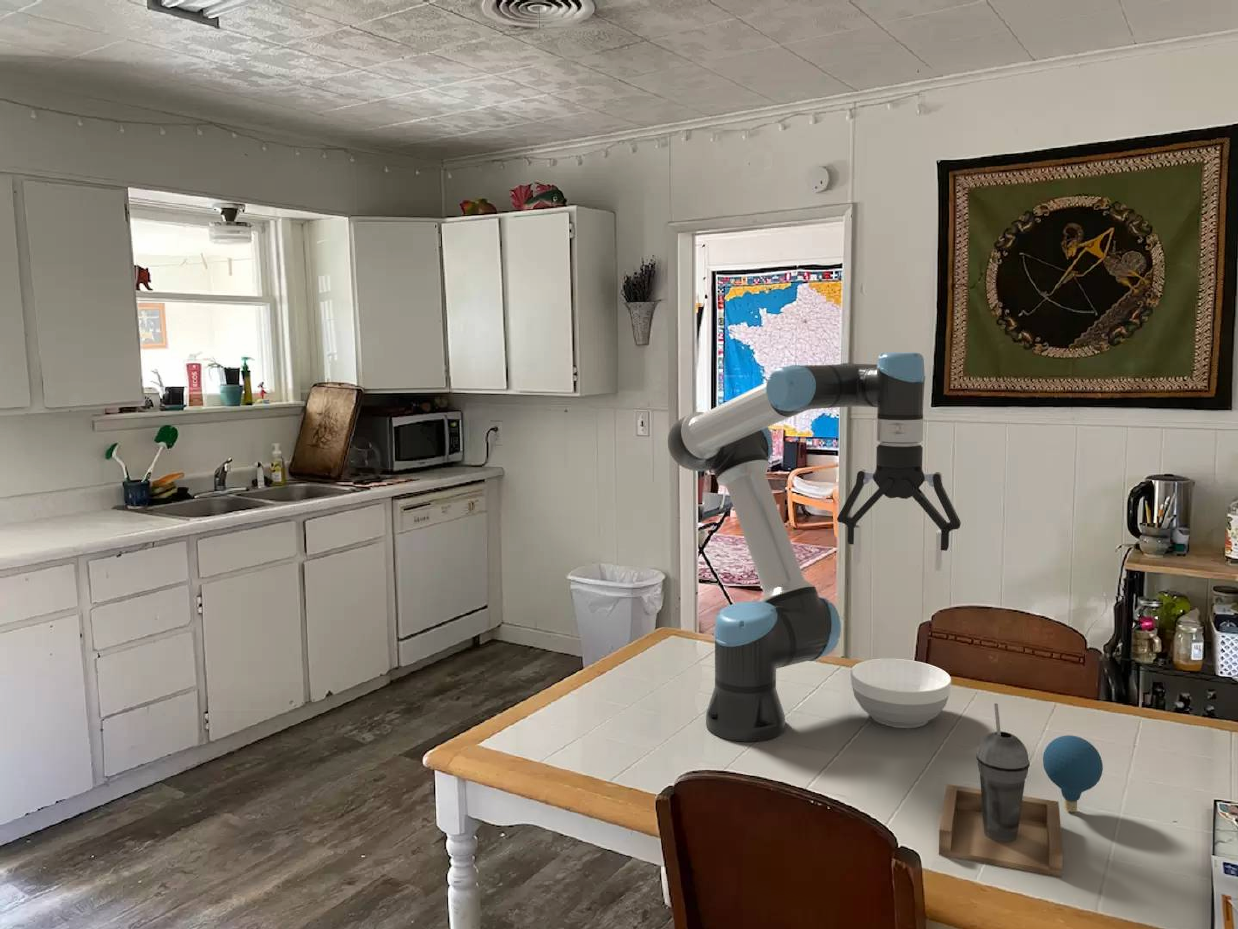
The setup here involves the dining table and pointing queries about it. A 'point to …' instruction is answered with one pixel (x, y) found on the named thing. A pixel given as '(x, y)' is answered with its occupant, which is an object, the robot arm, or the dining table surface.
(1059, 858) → the u rest
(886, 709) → the bowl
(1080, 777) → the light bulb
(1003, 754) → the beverage cup
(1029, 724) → the dining table surface
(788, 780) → the dining table surface
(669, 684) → the dining table surface
